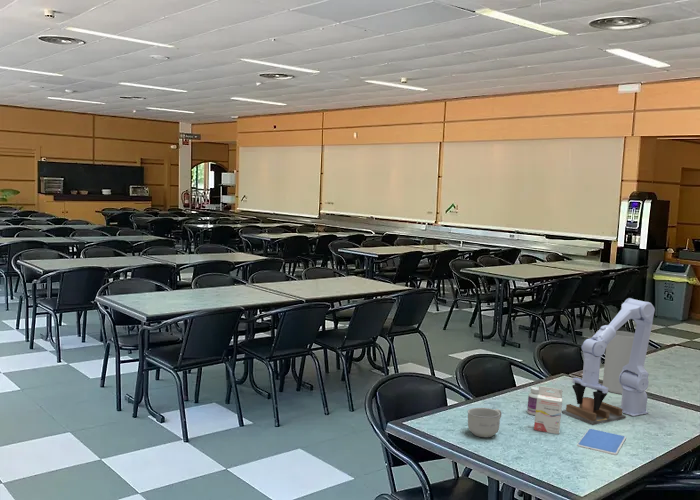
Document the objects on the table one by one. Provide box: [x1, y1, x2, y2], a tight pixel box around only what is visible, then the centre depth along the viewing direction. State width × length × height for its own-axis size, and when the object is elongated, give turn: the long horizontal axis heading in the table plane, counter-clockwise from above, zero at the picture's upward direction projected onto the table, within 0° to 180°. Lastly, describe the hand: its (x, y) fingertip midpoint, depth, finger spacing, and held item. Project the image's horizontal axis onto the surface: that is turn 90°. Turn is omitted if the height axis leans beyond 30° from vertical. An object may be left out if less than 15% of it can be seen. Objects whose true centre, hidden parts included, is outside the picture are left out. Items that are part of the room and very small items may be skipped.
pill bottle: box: [526, 386, 539, 416], centre depth 251 cm, size 5×5×10 cm
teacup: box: [467, 407, 502, 438], centre depth 226 cm, size 14×11×8 cm
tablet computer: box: [576, 428, 627, 456], centre depth 225 cm, size 19×13×1 cm, turn 149°
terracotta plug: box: [582, 396, 594, 412], centre depth 251 cm, size 4×4×6 cm
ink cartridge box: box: [533, 385, 563, 435], centre depth 233 cm, size 9×5×15 cm, turn 71°
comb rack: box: [561, 401, 627, 426], centre depth 253 cm, size 19×14×4 cm
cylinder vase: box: [602, 330, 635, 395], centre depth 289 cm, size 12×12×25 cm
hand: (588, 406), depth 251 cm, fingers open, 7 cm apart
